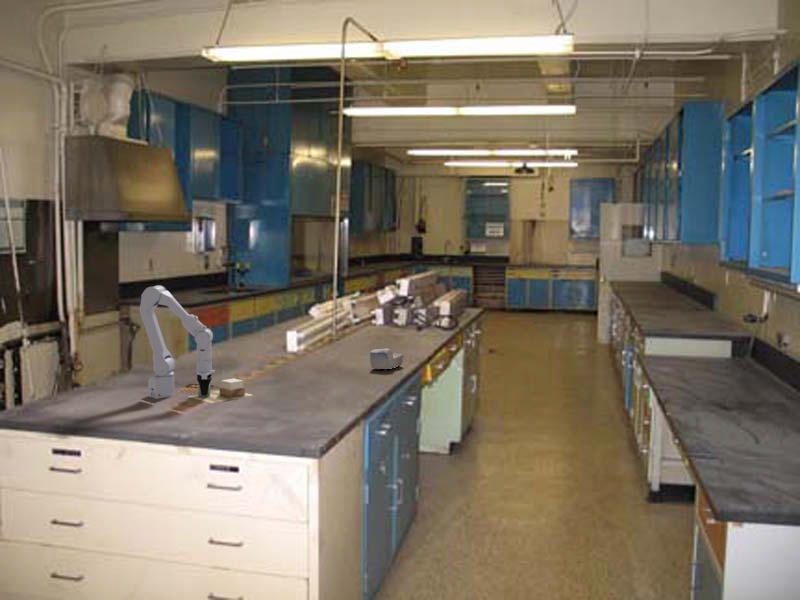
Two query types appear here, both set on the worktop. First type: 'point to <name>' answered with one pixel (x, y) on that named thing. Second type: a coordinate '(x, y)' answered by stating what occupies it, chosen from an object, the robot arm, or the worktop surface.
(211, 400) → the birch board
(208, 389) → the teal piece
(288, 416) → the worktop surface
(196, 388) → the ammunition clip
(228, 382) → the tower top
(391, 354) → the grey stepped block
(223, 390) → the tower base
